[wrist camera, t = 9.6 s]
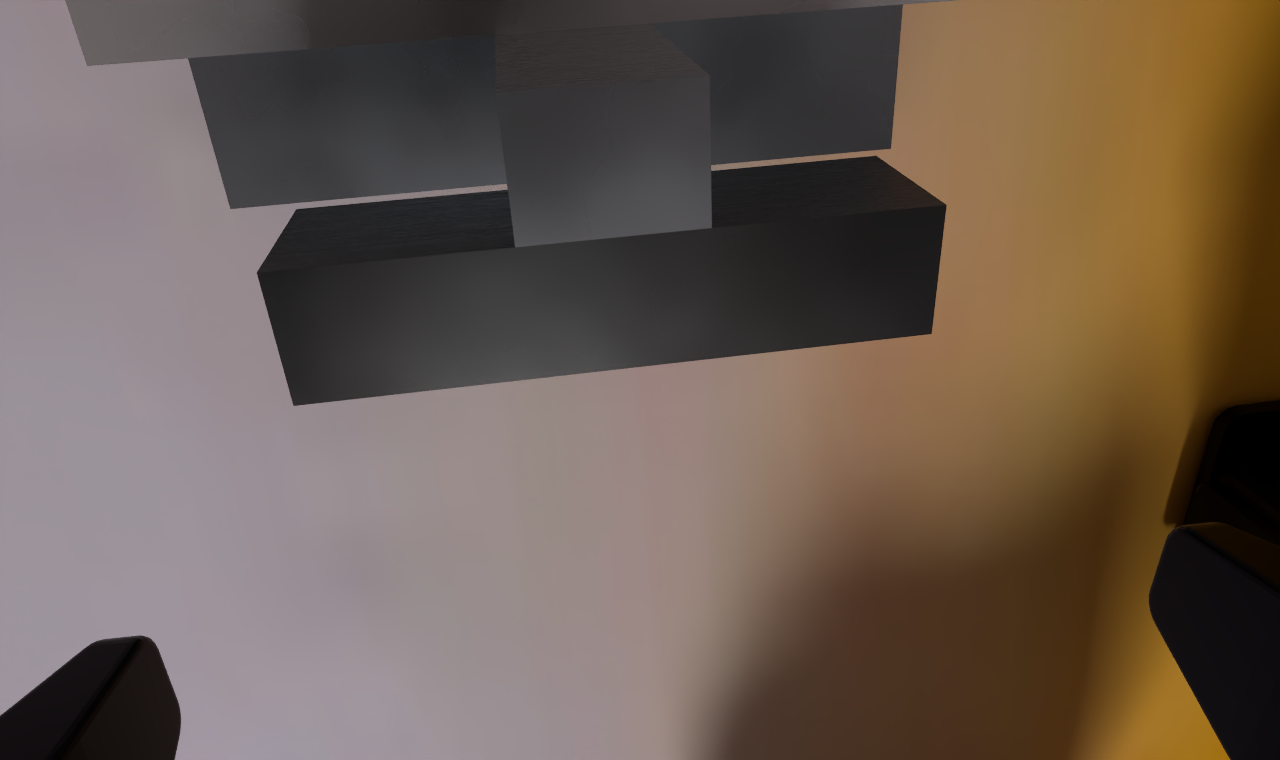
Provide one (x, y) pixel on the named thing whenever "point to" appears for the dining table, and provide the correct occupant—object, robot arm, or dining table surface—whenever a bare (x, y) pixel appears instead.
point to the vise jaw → (562, 207)
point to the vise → (468, 115)
